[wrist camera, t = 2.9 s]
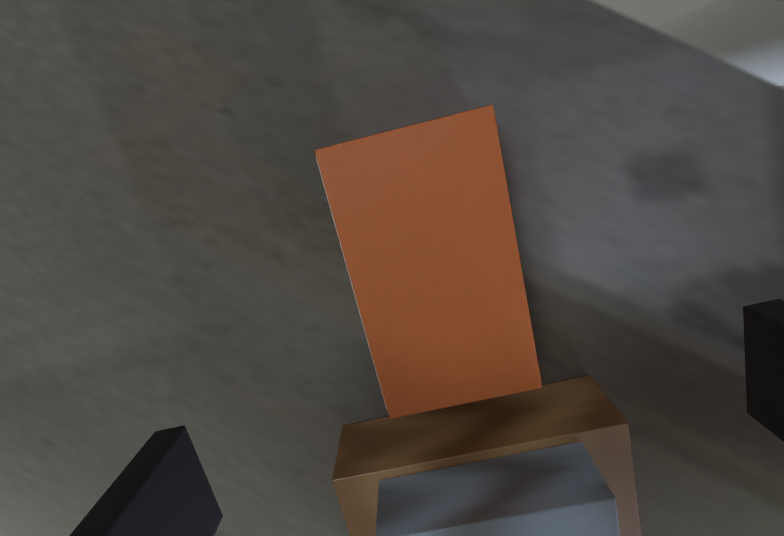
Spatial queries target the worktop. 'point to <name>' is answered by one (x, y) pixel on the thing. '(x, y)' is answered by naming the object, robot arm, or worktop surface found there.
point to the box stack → (493, 468)
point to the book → (434, 261)
